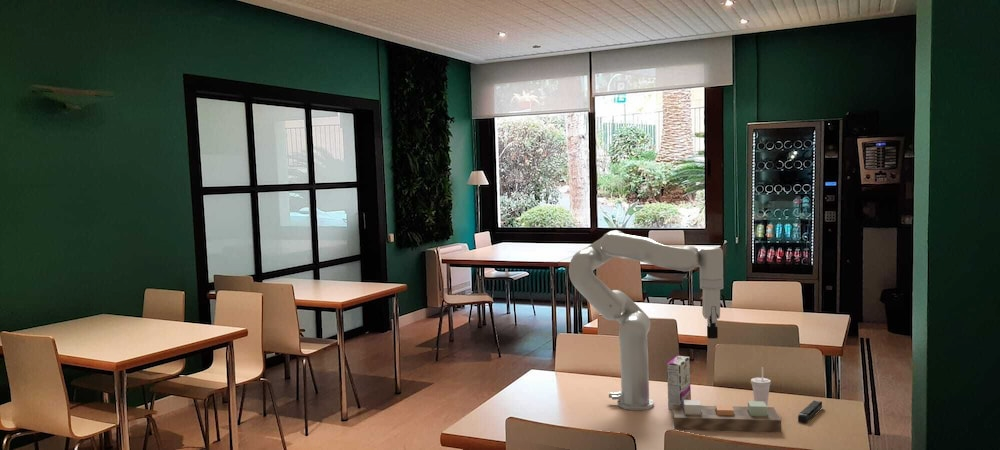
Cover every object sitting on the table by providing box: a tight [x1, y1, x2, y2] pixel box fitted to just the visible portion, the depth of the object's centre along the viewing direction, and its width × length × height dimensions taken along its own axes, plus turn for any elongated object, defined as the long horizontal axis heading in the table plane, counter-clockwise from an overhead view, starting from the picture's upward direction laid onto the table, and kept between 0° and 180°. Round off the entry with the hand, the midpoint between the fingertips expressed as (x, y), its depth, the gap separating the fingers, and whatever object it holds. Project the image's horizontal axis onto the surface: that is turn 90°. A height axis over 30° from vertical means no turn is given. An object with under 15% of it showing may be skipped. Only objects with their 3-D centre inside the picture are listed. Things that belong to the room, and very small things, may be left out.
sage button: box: [747, 400, 768, 416], centre depth 222 cm, size 5×5×4 cm
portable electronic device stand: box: [797, 399, 823, 424], centre depth 229 cm, size 18×3×3 cm, turn 140°
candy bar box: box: [666, 355, 692, 411], centre depth 243 cm, size 11×5×16 cm, turn 148°
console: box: [671, 405, 783, 434], centre depth 224 cm, size 32×12×4 cm, turn 79°
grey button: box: [684, 399, 702, 415], centre depth 226 cm, size 5×5×4 cm
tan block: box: [715, 404, 734, 416], centre depth 224 cm, size 5×5×4 cm
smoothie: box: [750, 367, 772, 407], centre depth 238 cm, size 6×6×14 cm
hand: (712, 337), depth 235 cm, fingers closed
